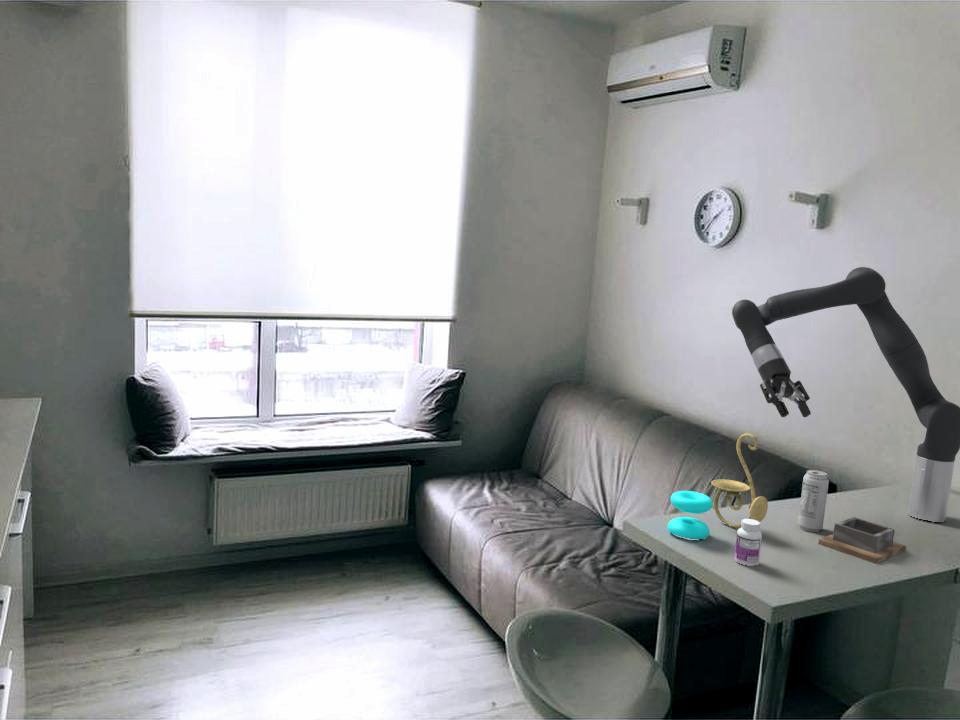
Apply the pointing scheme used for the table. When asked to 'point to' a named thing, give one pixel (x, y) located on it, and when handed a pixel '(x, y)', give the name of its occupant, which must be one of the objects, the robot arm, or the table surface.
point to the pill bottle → (748, 543)
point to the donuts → (690, 504)
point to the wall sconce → (741, 489)
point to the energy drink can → (813, 500)
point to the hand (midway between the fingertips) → (796, 415)
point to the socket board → (863, 540)
